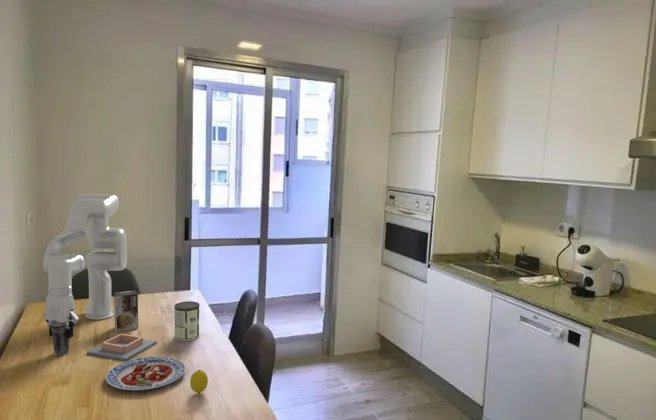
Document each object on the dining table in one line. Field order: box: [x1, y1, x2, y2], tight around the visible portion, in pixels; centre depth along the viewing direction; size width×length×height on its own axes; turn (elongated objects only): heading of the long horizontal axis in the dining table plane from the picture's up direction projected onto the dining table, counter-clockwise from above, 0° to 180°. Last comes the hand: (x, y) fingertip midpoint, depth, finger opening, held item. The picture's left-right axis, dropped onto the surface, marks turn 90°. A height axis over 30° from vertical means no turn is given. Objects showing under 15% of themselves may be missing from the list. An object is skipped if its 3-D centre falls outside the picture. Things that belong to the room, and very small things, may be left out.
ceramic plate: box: [105, 355, 186, 391], centre depth 162 cm, size 26×26×3 cm
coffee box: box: [113, 289, 139, 333], centre depth 206 cm, size 9×6×16 cm
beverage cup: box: [50, 320, 71, 356], centre depth 177 cm, size 7×7×20 cm
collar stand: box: [86, 333, 157, 362], centre depth 184 cm, size 18×18×4 cm
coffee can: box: [173, 300, 201, 342], centre depth 199 cm, size 10×10×14 cm
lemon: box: [189, 369, 209, 394], centre depth 151 cm, size 6×6×8 cm
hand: (61, 336), depth 177 cm, fingers closed on beverage cup, 6 cm apart
